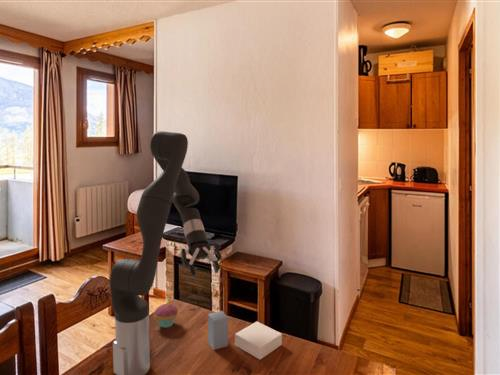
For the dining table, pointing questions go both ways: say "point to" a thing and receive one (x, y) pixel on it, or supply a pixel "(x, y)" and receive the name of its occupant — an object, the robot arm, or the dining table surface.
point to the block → (217, 330)
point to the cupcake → (166, 314)
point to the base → (258, 340)
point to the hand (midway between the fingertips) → (205, 274)
